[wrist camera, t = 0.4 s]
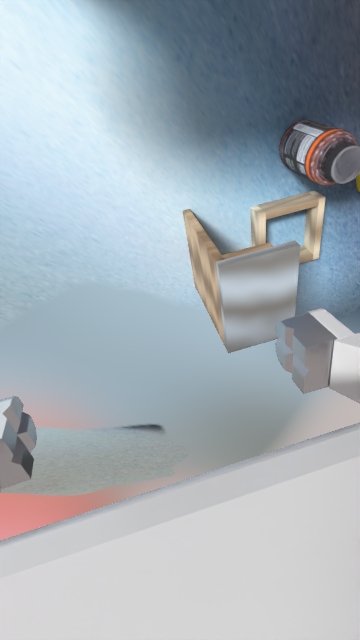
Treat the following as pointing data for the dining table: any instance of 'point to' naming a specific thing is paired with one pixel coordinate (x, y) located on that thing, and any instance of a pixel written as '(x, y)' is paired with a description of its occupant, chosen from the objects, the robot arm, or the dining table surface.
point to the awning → (244, 286)
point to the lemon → (358, 182)
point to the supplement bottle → (321, 152)
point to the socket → (289, 205)
